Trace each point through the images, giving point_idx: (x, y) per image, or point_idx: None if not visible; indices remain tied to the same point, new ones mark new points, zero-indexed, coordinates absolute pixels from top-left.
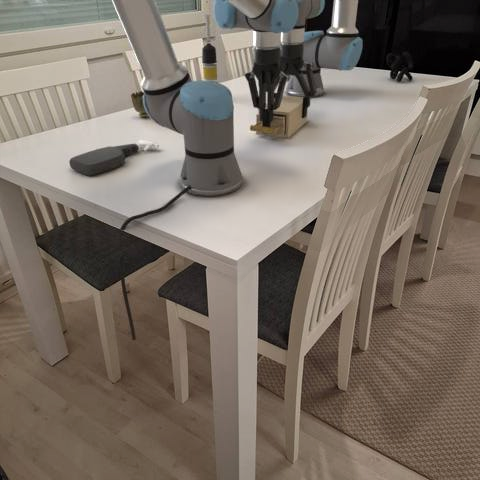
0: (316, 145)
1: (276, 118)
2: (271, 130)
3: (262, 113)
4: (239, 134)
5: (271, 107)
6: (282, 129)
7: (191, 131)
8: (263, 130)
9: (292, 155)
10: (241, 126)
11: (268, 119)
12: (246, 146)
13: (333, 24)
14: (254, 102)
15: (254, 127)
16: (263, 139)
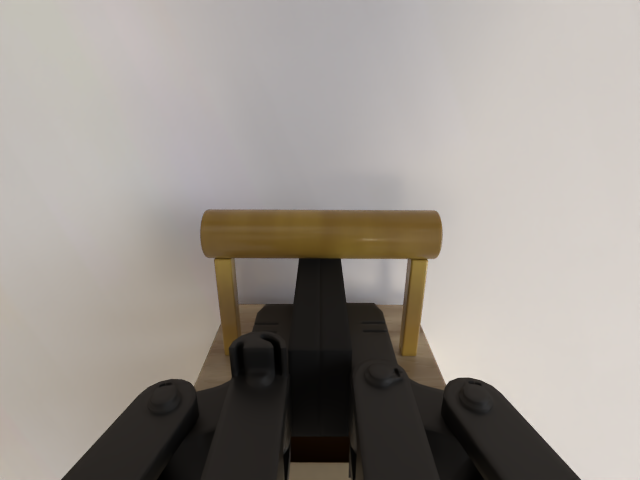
0: (29, 296)
1: None
2: (232, 215)
3: (348, 333)
4: (523, 299)
5: (225, 406)
6: (221, 335)
7: None
8: (308, 211)
9: (48, 76)
10: (545, 410)
11: (288, 315)
12: (411, 116)
13: None
14: (507, 438)
15: (397, 219)
16: (351, 275)
